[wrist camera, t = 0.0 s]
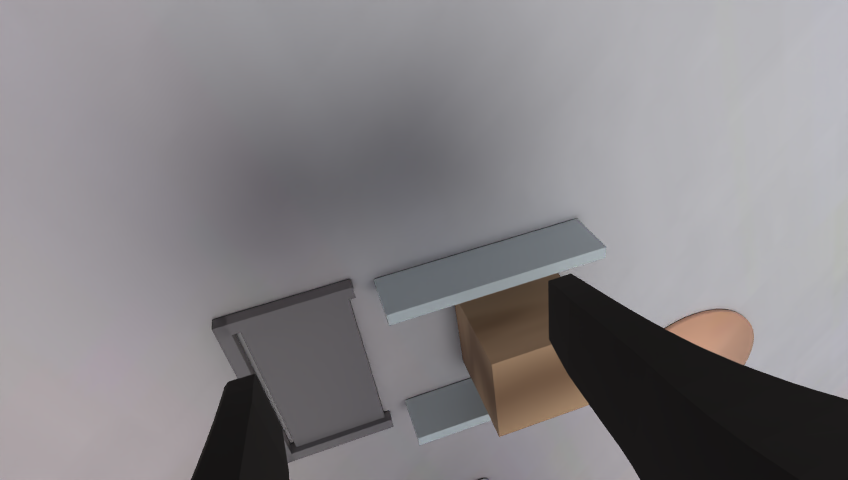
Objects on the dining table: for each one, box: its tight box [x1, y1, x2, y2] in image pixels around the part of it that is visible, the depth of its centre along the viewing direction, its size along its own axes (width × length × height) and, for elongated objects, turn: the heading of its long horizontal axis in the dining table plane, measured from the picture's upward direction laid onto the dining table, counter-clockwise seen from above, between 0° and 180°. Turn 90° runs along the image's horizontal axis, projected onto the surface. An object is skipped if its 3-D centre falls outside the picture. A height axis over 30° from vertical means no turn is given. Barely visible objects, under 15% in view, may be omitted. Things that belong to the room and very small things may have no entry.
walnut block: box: [455, 273, 589, 437], centre depth 26 cm, size 5×5×5 cm
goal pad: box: [665, 309, 754, 365], centre depth 35 cm, size 10×10×1 cm
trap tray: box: [212, 279, 393, 463], centre depth 26 cm, size 10×6×1 cm, turn 9°
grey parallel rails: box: [374, 219, 606, 445], centre depth 26 cm, size 9×10×2 cm
